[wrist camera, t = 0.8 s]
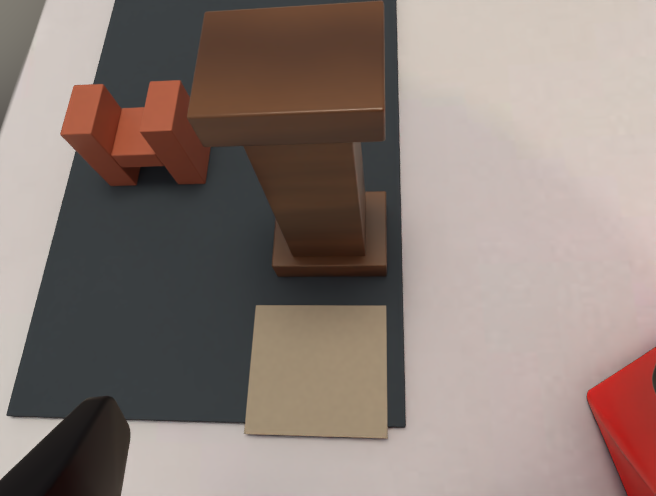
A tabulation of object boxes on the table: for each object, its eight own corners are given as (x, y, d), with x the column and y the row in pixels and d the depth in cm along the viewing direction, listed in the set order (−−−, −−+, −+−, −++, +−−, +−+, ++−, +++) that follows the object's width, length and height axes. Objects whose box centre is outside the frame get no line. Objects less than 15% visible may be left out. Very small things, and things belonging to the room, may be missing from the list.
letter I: (387, 276, 26) (385, 109, 14) (277, 277, 26) (185, 117, 14) (386, 204, 27) (383, -1, 15) (282, 206, 28) (203, 10, 16)
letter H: (205, 184, 29) (171, 130, 24) (110, 186, 30) (59, 134, 25) (212, 138, 30) (180, 79, 26) (120, 142, 31) (73, 84, 26)
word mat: (405, 439, 23) (406, 438, 23) (8, 427, 25) (1, 426, 25) (393, -139, 39) (392, -147, 38) (149, -117, 41) (146, -124, 40)
